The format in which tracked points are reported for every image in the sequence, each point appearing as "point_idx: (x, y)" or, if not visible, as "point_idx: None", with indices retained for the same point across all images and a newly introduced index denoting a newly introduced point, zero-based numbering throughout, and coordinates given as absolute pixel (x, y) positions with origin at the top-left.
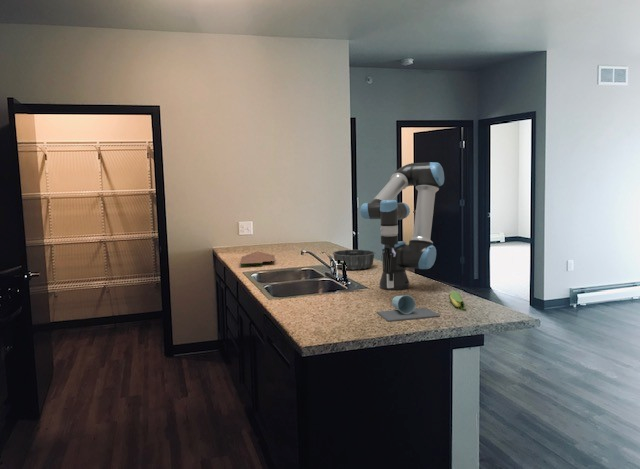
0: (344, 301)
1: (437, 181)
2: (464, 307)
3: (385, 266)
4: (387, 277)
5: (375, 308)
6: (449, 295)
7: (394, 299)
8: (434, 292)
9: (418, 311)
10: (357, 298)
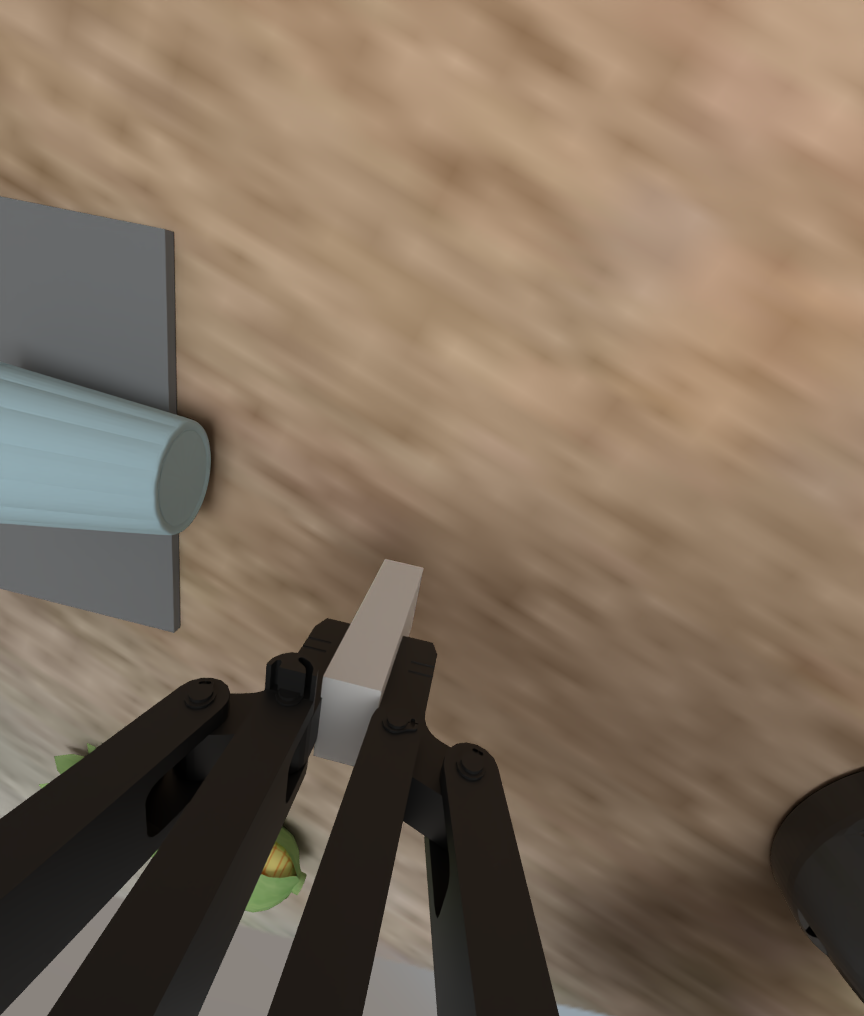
0: (807, 137)
1: None
2: (69, 766)
3: (451, 829)
4: (363, 638)
5: (332, 313)
6: (294, 866)
7: (87, 418)
8: (544, 905)
9: (83, 531)
10: (813, 363)
